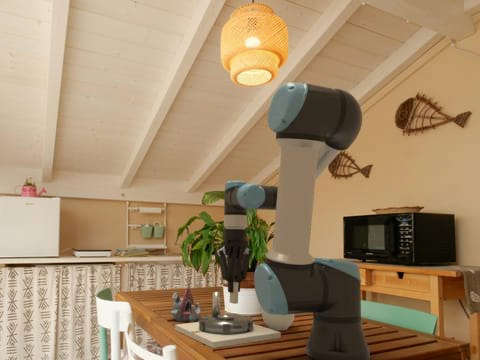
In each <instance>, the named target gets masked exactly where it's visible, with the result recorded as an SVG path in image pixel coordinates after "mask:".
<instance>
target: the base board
mask: <svg viewBox="0 0 480 360" xmlns="http://www.w3.org/2000/svg"><path fill="white" fill-rule="evenodd" d="M174 330H175V331H176V332H178V333H181V334H183V335H185V336H187V337H189V338H191V339H193V340H194V341H195V340H196V341H197V342H199V343H202V344H203V345H206V346H207V347H210V348H212V349H217V348H223V347H231V346H236V345H242V344H249V343H250V344H251V343H256V342H261V341H262V342H263V341H268V340H270V341H271V340H275V339H281V336H282V335H281V332H280V331H277V330H272V329H269V328H268V327H265V326H262V325H259V324H255V323H253V330H251V331H247V332H243V333H234V334H220V333H210V332H206V331H201V330H199V321H197V322H196V321H193V322H188V323H178V324H174Z"/></svg>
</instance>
